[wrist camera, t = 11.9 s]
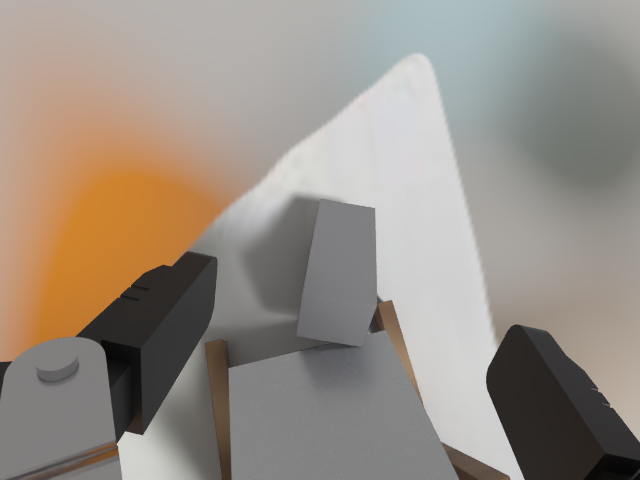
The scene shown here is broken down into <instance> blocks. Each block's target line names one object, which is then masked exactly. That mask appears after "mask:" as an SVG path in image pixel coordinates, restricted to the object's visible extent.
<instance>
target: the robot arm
mask: <svg viewBox="0 0 640 480" xmlns="http://www.w3.org/2000/svg"><path fill="white" fill-rule="evenodd" d="M216 277H217V258H216V257H212V256H208V255H203V254H199V253H194V252H190V251H188V252H186V253H185V254H184V255H183V256H182V257H181V258H180V259H179V260H178V261H177V262H176V263H175V264H174V265H173V266H172V267H170V266H166V265H162V266H159V267H157V268H155V269H152V270H150V271H148V272H146V273H144V274H143V275H142V276H141V277H140V278H138V279H137V280H136V281H135V282H134V283H133V284H132V285H131V288H130V287H129V288H128V289H127V290H126V291H124V292H123V293H122V294H121V296H120V298H117V299H116V300H115V301H113V302H112V303H111V304H110V305H109V306H108V307H107V308H106V309H105V310H104V311H103V312H102V313H100V314H99V315H98V316H97V317H96V318H95V319H94V320H93V321H92V322H91V323H90V324H89V325H87V326H86V327H85V328H84V329H83V330H82V331H81V332H80V333H79V334H78V335H77V336H76V337H65V338H58V339H54V340H50V341H46V342H43V343H41V344H38V345H36V346H34V347H32V348H30V349H28V350H26V351H25V352H23V353H22V354H21V355H19V356H18V357H17V358H16V359H15V360H14V361H11V362H0V480H122V474H121V466H120V458H119V451H118V446H117V445H116V444H117V443H118V441H119V440H120V438H121V437H122V435H123V434H124V432H125V431H126V432H131V433H135V434H140V435H143V434H144V432H145V431H146V429H147V427H148V426H149V424H150V422H151V421H152V419H153V417H154V416H155V414H156V412H157V411H158V409H159V407H160V406H161V404H162V402H163V401H164V399H165V397H166V396H167V394H168V392H169V391H170V389H171V387H172V386H173V384H174V382H175V381H176V379H177V377H178V376H179V374H180V372H181V371H182V369H183V367H184V366H185V364H186V362H187V360H188V359H189V357H190V355H191V354H192V352H193V350H194V349H195V347H196V345H197V344H198V342H199V340H200V339H201V337H202V335H203V334H204V332H205V330H206V329H207V327H208V325H209V322H210V320H211V317H212V313H213V309H214V301H215V289H216ZM486 384H487V390H488V392H489V395H490V397H491V400H492V402H493V405H494V407H495V409H496V412H497V414H498V417H499V419H500V421H501V424H502V426H503V429H504V431H505V433H506V436H507V438H508V441H509V443H510V445H511V448H512V450H513V453H514V455H515V457H516V460H517V462H518V465H519V467H520V469H521V472H522V474H523V477H524V479H525V480H640V442H639V441H638V440H637V438H636V437H635V436H634V435H633V433H632V432H631V431H630V430H629V428H628V427H627V426H626V424H625V423H624V422H623V420H622V419H621V418H620V416H618V414H617V413H616V411H615V410H614V409H613V408H610V404H609V402H608V401H607V400H606V398H605V397H604V396H603V394H602V393H600V392H598V388H597V387H596V385H595V384H594V383H593V382H592V380H591V379H590V378H589V376H588V375H587V374H586V373H585V371H584V370H583V369H581V368H580V367H579V366H578V365H577V364H576V363H574V362H573V361H572V360H571V359H570V358H568V357H567V356H566V355H565V353H564V352H563V351H562V349H561V348H560V347H559V345H558V344H557V343H556V341H555V340H554V339H553V337H552V336H551V335H550V334H549V333H548V332H547V331H544V330H540V329H536V328H531V327H527V326H522V325H517V324H516V325H513V326H512V327H510V329H509V330H508V331H507V333H506V335H505V337H504V339H503V341H502V343H501V345H500V346H499V348H498V350H497V352H496V354H495V356H494V358H493V360H492V362H491V363H490V365H489V367H488V370H487V376H486Z"/></svg>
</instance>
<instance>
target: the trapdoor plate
mask: <svg viewBox="0 0 640 480" xmlns="http://www.w3.org/2000/svg"><path fill="white" fill-rule="evenodd" d="M228 369H229V404H230V438H231V473H232V480H459V478H458V476H457V474H456V472H455V470H454V468H453V466H452V464H451V462H450V460H449V458H448V456H447V454H446V452H445V450H444V447H443V445H442V443H441V441H440V439H439V437H438V435H437V433H436V431H435V429H434V427H433V425H432V423H431V421H430V419H429V417H428V415H427V413H426V411H425V409H424V407H423V405H422V403H421V401H420V399H419V397H418V394H417V392H416V390H415V388H414V386H413V384H412V382H411V380H410V378H409V376H408V374H407V372H406V370H405V368H404V366H403V364H402V362H401V360H400V358H399V356H398V354H397V352H396V350H395V348H394V346H393V343H392V341H391V339H390V337H389V335H388V333H387V331H386V330H384V331H380V332H376V333H372V334H367V335H366V337H365V340H364V342H363V345H362V347H358V346H352V345H346V344H340V343H330V344H326V345H322V346H318V347H314V348H309V349H305V350H301V351H297V352H293V353H289V354H285V355H281V356H276V357H272V358H268V359H264V360H260V361H256V362H252V363H247V364H243V365H239V366H235V367H231V368H228Z"/></svg>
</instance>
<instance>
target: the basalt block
mask: <svg viewBox="0 0 640 480" xmlns="http://www.w3.org/2000/svg"><path fill="white" fill-rule="evenodd" d="M376 307H377V275H376V230H375V208H371V207H365V206H359V205H353V204H347V203H341V202H335V201H329V200H323V199H320V201H319V207H318V212H317V217H316V223H315V228H314V233H313V239H312V244H311V249H310V255H309V260H308V266H307V271H306V276H305V282H304V287H303V292H302V299H301V306H300V313H299V319H298V326H297V333H296V336H298V337H304V338H310V339H316V340H322V341H328V342H334V343H340V344H346V345H352V346H358V347H362V345H363V342H364V340H365V337H366V334H367V331H368V329H369V326H370V323H371V321H372V318H373V315H374V312H375V310H376Z"/></svg>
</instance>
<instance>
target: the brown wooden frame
mask: <svg viewBox="0 0 640 480" xmlns="http://www.w3.org/2000/svg"><path fill="white" fill-rule="evenodd" d="M374 315H375V319H376V322H377V326H378V329H379V332H380V331H384V330H386V331H387V333H388V335H389V337H390V339H391V341H392V343H393V346H394V348H395V350H396V352H397V354H398V356H399V358H400V360H401V362H402V364H403V366H404V368H405V370H406V372H407V374H408V376H409V378H410V380H411V382H412V384H413V386H414V388H415V390H416V392H417V394H418V397H419V399H420V401H421V403H422V405H423V402H422V399H421V396H420V392H419V389H418V386H417V382H416V379H415V376H414V372H413V369H412V365H411V362H410V359H409V355H408V352H407V349H406V345H405V342H404V339H403V335H402V332H401V329H400V325H399V322H398V319H397V315H396V312H395V309H394V305H393V302H392V300H390V301H386V302H381V303H377V307H376V310H375V312H374ZM205 347H206V355H207V363H208V371H209V379H210V387H211V394H212V402H213V410H214V418H215V426H216V434H217V442H218V449H219V457H220V465H221V473H222V480H232V473H231V438H230V404H229V369H228V368H230V364H229V357H228V350H227V343H226V341H224V340H222V339H220V340H216V341H212V342H207V343H205ZM423 407H424V406H423ZM441 443H442V442H441ZM442 445H443V447H444V450H445V452H446V454H447V456H448V458H449V460H450V462H451V464H452V466H453V468H454V470H455V472H456V474H457V476H458V478H459V480H510V477H509V476H508V475H506V474H504V473H502V472H500V471H498V470H496V469H494V468H492V467H490V466H488V465H486V464H484V463H482V462H480V461H478V460H476V459H474V458H472V457H470V456H468V455H466V454H464V453H462V452H460V451H458V450H456V449H454V448H452V447H450V446H448V445H446V444H444V443H442Z"/></svg>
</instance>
